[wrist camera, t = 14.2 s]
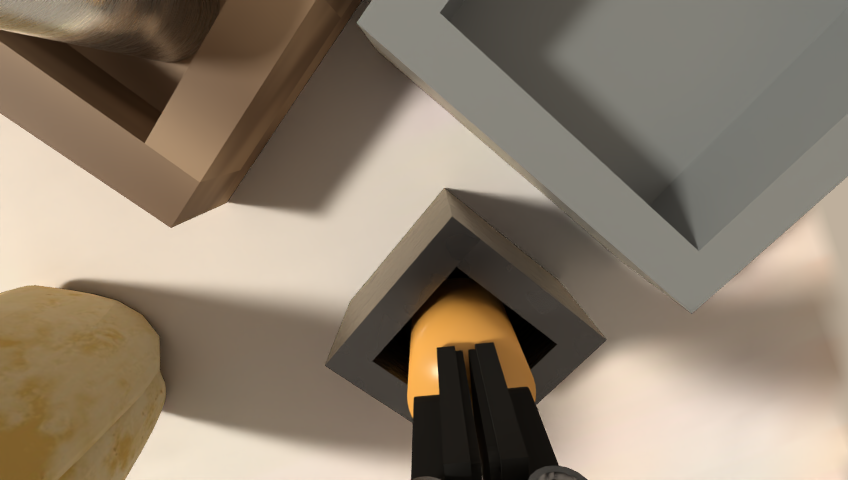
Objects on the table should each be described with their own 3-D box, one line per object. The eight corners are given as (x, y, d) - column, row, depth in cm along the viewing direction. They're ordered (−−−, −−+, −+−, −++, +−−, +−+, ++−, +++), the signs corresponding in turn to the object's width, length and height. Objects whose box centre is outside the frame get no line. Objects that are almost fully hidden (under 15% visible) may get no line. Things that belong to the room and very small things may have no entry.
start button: (525, 314, 16) (563, 389, 12) (463, 377, 17) (477, 467, 12) (453, 259, 15) (464, 316, 11) (392, 327, 16) (381, 404, 12)
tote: (900, -11, 15) (1126, -70, 10) (621, 261, 18) (691, 313, 13) (650, -339, 12) (797, -631, 7) (377, 51, 15) (356, 22, 11)
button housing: (559, 281, 18) (606, 339, 14) (461, 379, 20) (473, 462, 15) (444, 187, 17) (452, 216, 12) (350, 301, 19) (324, 365, 14)
